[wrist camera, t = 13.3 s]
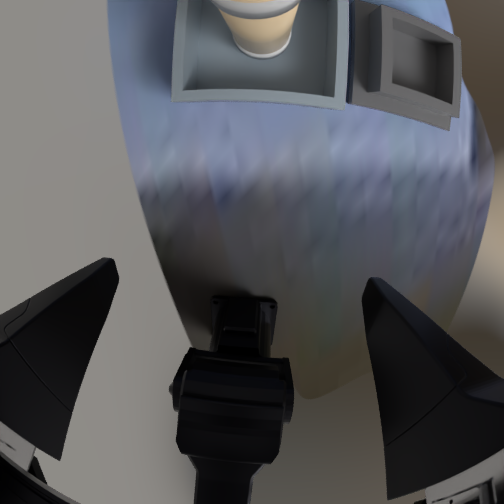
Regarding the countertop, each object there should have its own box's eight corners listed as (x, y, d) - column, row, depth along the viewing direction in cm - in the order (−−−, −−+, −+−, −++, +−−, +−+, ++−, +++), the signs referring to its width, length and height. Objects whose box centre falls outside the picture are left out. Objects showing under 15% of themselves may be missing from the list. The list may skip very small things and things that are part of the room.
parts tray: (330, 109, 17) (344, 110, 14) (189, 102, 18) (171, 102, 14) (334, -7, 12) (347, -27, 8) (196, -13, 12) (182, -33, 9)
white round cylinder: (297, 52, 15) (328, -7, 5) (245, 66, 16) (216, 19, 6) (278, 10, 13) (286, -73, 3) (227, 24, 14) (184, -47, 4)
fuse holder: (443, 129, 17) (467, 136, 14) (347, 103, 17) (363, 103, 14) (446, 38, 12) (469, 33, 9) (351, 3, 12) (365, -13, 9)
